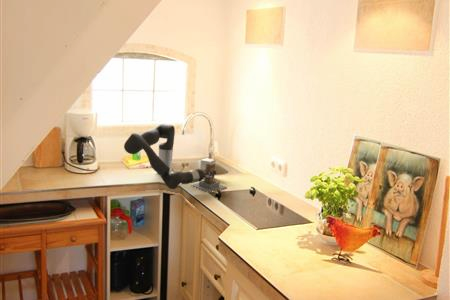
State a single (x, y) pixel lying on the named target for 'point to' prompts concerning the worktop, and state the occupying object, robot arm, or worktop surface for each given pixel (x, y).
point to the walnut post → (210, 168)
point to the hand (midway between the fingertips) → (212, 171)
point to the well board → (209, 186)
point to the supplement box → (205, 161)
